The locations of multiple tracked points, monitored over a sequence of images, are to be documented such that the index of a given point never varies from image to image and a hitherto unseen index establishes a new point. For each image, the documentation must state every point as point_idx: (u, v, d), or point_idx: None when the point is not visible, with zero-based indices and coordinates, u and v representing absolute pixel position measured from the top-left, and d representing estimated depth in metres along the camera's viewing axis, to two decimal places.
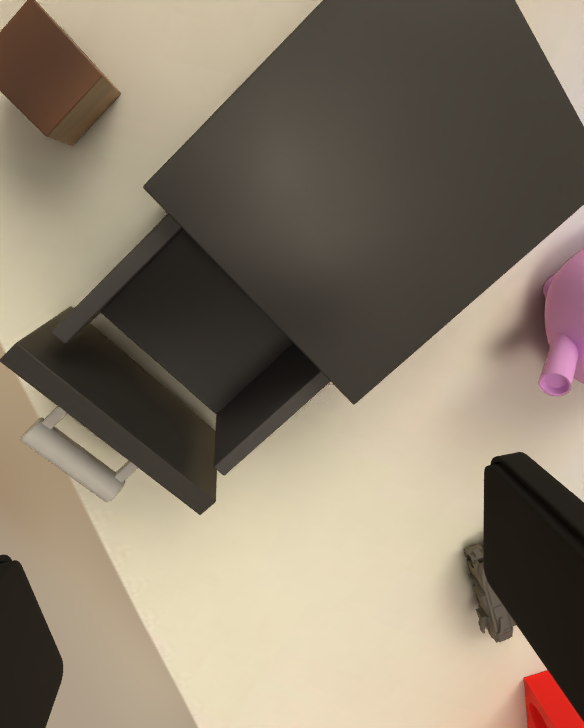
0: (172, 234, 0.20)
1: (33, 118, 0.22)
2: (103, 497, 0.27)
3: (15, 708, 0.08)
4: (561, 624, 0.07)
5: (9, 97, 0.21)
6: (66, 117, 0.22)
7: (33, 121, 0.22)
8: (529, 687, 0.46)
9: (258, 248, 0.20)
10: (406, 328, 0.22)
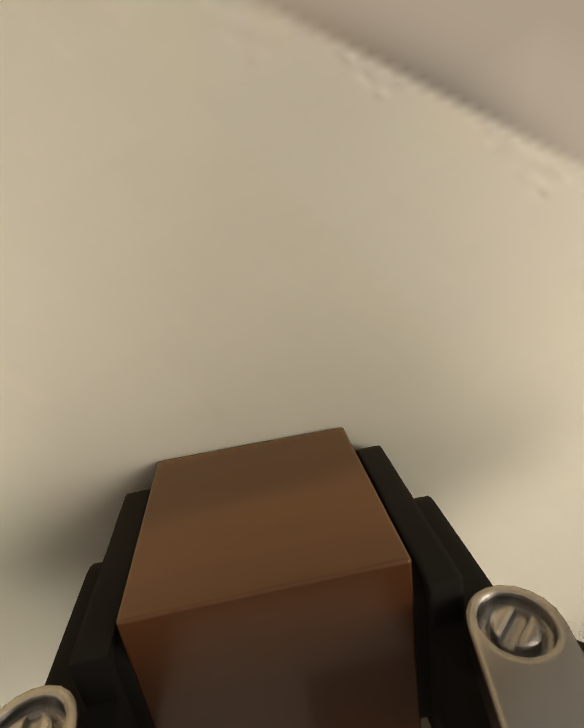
0: None
1: None
2: None
3: None
4: None
5: (155, 718, 0.07)
6: None
7: None
8: None
9: None
10: None
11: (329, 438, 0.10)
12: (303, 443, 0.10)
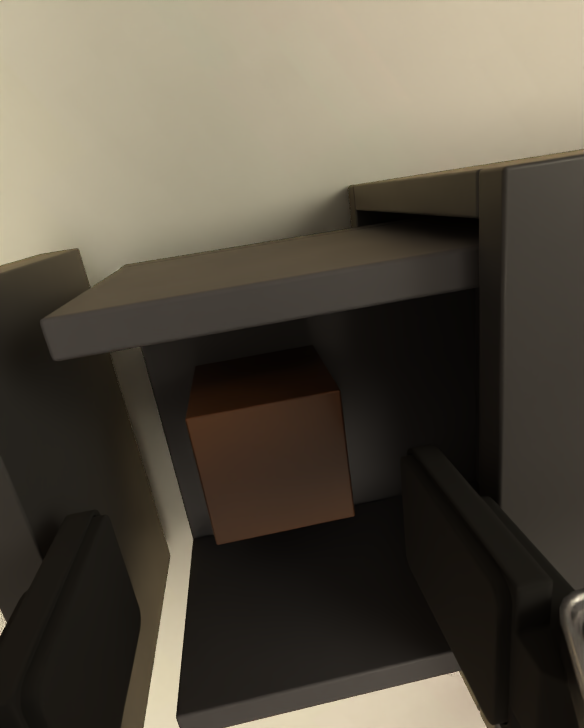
0: (437, 291, 0.09)
1: (217, 519, 0.13)
2: None
3: (113, 642, 0.08)
4: (452, 600, 0.08)
5: (203, 480, 0.12)
6: (264, 532, 0.13)
7: (214, 522, 0.13)
8: None
9: None
10: None
11: (303, 349, 0.15)
12: (287, 353, 0.15)
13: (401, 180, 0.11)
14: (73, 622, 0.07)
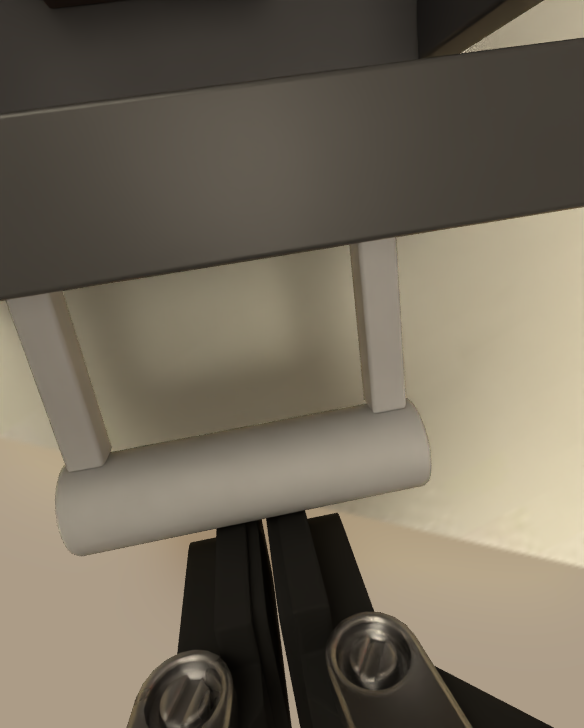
0: None
1: None
2: (406, 483, 0.08)
3: (271, 592, 0.09)
4: None
5: None
6: None
7: None
8: None
9: None
10: None
11: None
12: None
13: None
14: (263, 564, 0.08)
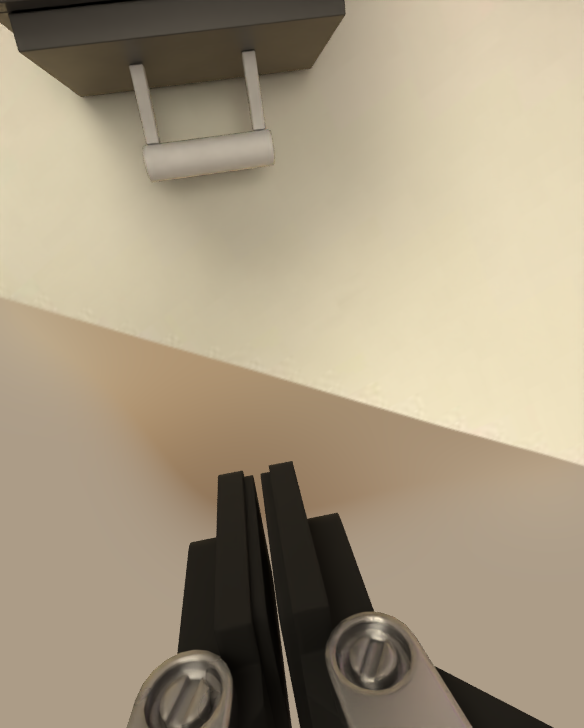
0: None
1: None
2: (265, 154, 0.22)
3: (271, 592, 0.09)
4: None
5: None
6: None
7: None
8: None
9: None
10: None
11: None
12: None
13: None
14: (262, 564, 0.08)
